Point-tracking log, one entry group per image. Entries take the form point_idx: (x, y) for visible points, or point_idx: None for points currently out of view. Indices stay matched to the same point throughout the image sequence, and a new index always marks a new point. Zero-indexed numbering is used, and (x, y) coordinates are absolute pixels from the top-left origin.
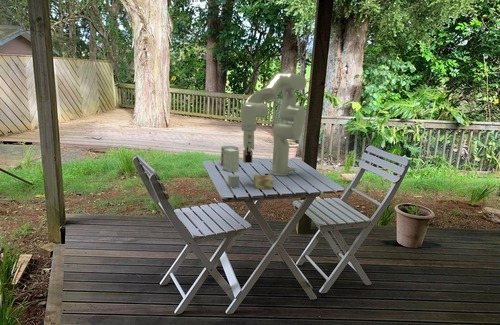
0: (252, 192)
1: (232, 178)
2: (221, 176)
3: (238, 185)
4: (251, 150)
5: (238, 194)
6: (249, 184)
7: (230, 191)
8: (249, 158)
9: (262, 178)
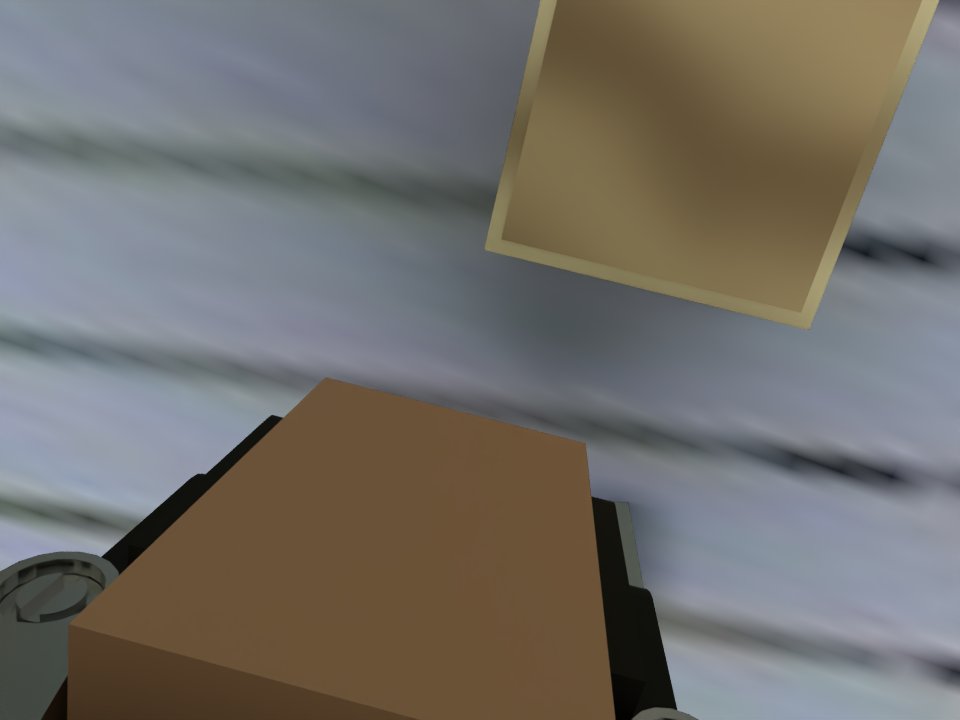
0: (923, 412)
1: None
2: (91, 531)
3: (631, 522)
4: (230, 690)
5: (936, 616)
6: (516, 305)
7: (774, 656)
8: (653, 662)
9: (789, 173)
